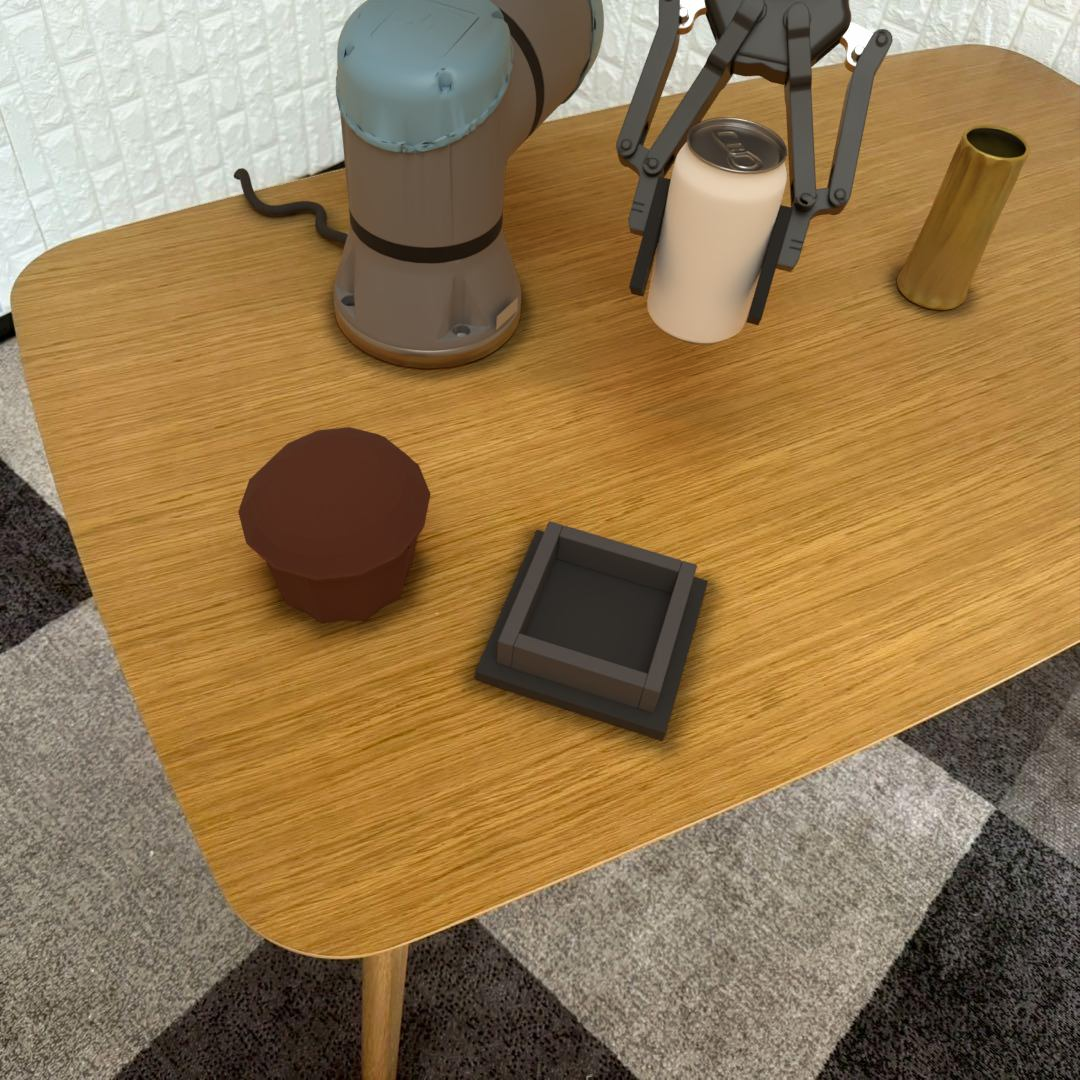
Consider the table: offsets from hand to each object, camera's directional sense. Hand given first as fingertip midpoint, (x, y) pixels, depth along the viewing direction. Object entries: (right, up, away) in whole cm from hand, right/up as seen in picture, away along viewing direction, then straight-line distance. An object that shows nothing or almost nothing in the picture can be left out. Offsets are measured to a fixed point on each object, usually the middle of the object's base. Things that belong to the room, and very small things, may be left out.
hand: (694, 305), depth 61 cm
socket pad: (-6, -20, +4) cm, 21 cm away
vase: (+26, +8, +30) cm, 40 cm away
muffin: (-22, -16, +6) cm, 28 cm away
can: (+1, 0, +5) cm, 5 cm away
